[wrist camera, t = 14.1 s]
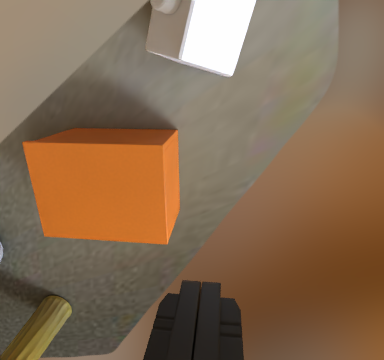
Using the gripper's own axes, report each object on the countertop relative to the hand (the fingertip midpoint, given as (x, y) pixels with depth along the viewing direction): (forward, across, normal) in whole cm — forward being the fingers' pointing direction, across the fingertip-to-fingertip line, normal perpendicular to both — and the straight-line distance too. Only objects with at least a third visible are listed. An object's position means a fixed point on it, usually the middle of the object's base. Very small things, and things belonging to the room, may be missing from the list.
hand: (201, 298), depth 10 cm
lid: (+20, +14, +5) cm, 25 cm away
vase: (+29, +31, +34) cm, 55 cm away
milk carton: (+29, +1, -13) cm, 32 cm away
